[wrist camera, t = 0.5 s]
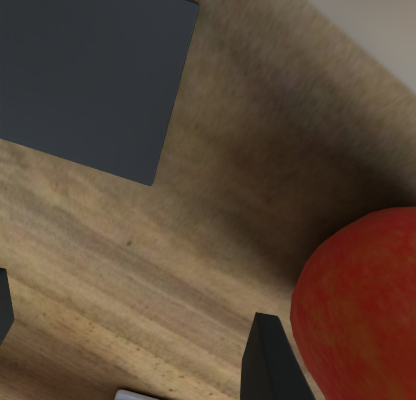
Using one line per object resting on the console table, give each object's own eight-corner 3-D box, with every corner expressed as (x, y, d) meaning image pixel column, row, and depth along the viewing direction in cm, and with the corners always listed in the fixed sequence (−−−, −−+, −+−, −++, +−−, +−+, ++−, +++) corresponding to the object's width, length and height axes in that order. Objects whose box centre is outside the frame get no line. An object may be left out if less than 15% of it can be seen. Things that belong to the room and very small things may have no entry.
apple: (325, 159, 18) (411, 318, 9) (514, 212, 18) (786, 416, 9) (261, 302, 23) (272, 500, 14) (411, 341, 23) (521, 558, 14)
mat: (152, 183, 19) (151, 186, 19) (-11, 131, 19) (-15, 133, 18) (200, 4, 15) (199, 4, 15) (-9, -71, 15) (-16, -73, 14)
